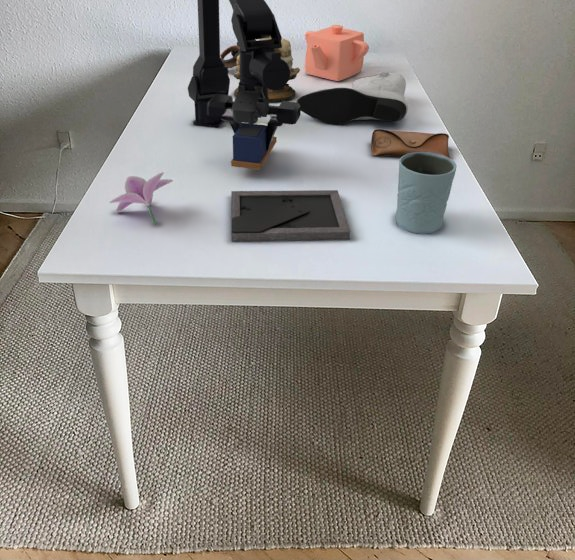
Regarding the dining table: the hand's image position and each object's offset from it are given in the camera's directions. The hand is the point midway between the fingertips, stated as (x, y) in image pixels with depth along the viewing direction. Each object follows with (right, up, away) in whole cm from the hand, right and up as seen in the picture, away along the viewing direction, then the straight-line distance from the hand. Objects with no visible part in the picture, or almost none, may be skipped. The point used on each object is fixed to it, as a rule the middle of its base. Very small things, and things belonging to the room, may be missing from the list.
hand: (254, 147), depth 133 cm
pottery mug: (-8, +36, +57) cm, 68 cm away
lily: (-19, -16, -17) cm, 31 cm away
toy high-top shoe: (0, -1, +1) cm, 2 cm away
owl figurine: (+1, +23, +39) cm, 45 cm away
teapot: (+20, +34, +55) cm, 67 cm away
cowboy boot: (+25, +17, +32) cm, 44 cm away
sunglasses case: (+35, +1, +10) cm, 37 cm away
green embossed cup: (+32, -17, -16) cm, 40 cm away
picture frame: (+7, -17, -16) cm, 25 cm away
